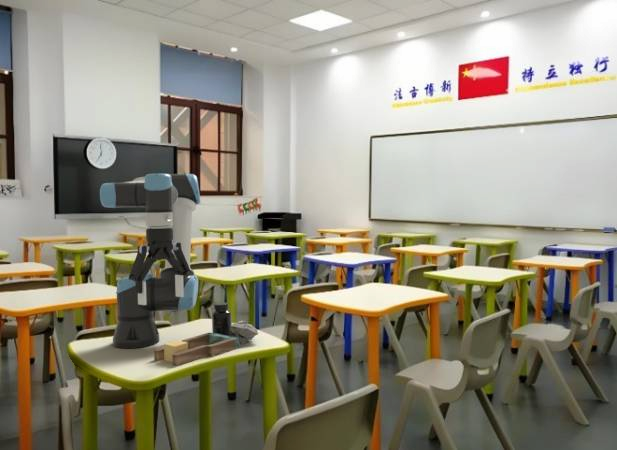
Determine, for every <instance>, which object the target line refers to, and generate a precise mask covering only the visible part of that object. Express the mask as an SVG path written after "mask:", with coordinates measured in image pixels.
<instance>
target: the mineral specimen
mask: <svg viewBox="0 0 617 450" xmlns="http://www.w3.org/2000/svg"><path fill="white" fill-rule="evenodd" d="M229 335H230V336H231V337H236V338H239V343H247V342H248V341H252V340H253V339H254V338H255V336H257V335H259V332H258V330H257V328H256V327H255V326H253V324H251V323H248V322H247V321H246V320H239V321H237V322H236V323H232V327H231V328H230V333H229Z"/></svg>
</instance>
